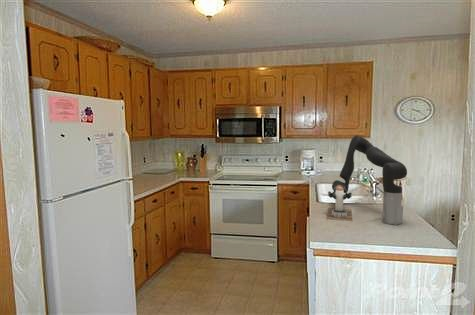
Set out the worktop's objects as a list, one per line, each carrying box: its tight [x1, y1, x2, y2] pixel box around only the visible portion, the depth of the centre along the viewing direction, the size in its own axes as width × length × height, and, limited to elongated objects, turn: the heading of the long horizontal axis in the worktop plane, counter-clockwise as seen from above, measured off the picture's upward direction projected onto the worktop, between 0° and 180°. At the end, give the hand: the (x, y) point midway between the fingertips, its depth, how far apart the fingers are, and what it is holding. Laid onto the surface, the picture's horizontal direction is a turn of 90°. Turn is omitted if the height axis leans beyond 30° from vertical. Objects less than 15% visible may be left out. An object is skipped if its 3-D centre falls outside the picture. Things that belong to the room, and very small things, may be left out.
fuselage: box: [334, 186, 344, 211], centre depth 186 cm, size 4×4×14 cm
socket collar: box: [332, 208, 347, 218], centre depth 187 cm, size 8×8×3 cm
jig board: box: [325, 207, 353, 222], centre depth 191 cm, size 26×14×1 cm, turn 162°
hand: (339, 197), depth 183 cm, fingers closed on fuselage, 4 cm apart
